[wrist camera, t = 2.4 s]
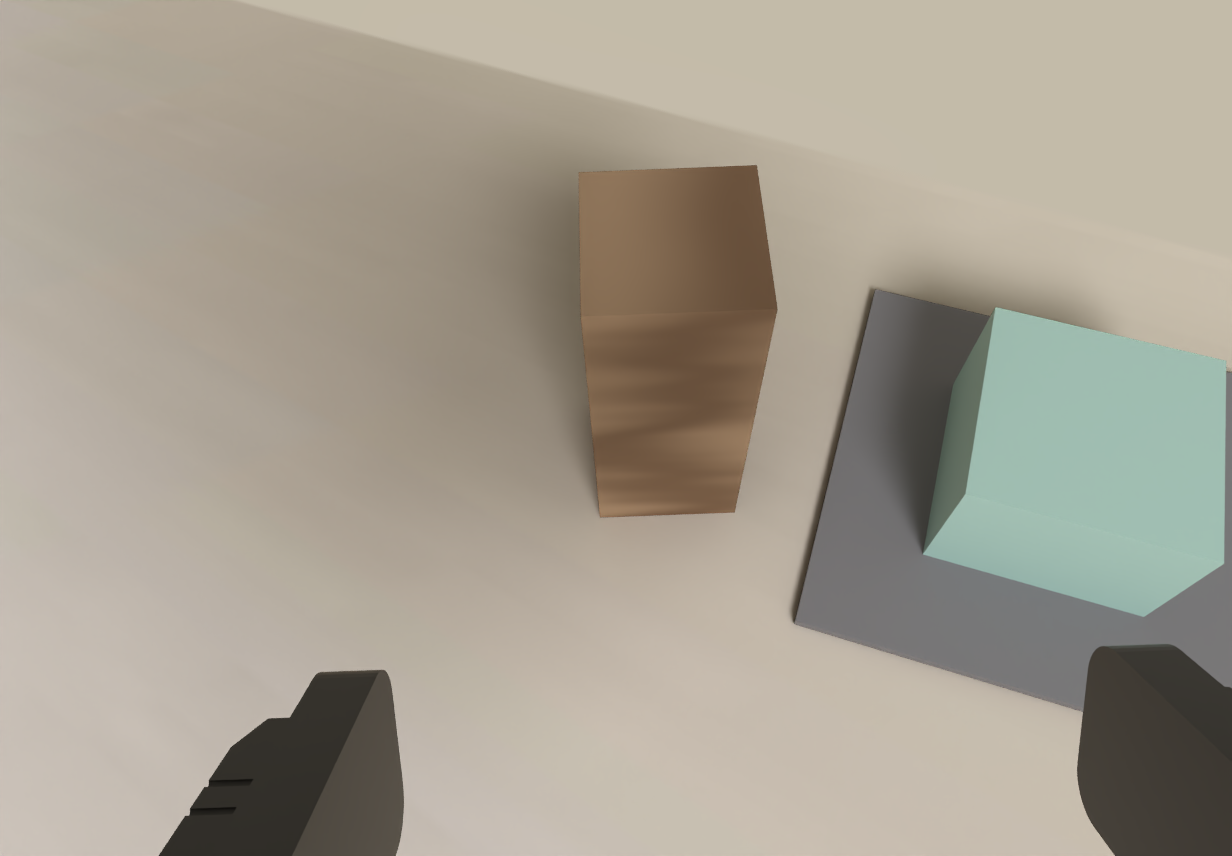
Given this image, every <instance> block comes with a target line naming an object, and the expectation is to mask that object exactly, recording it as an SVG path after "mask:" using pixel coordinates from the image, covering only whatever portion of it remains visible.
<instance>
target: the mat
mask: <svg viewBox="0 0 1232 856" xmlns="http://www.w3.org/2000/svg"><path fill="white" fill-rule="evenodd" d="M989 318H990V316H987V315H983V314H979V313H974V312H970V311H966V310H962V309H957V308H953V307H949V306H945V305H940V304H936V303H932V302H928V301H923V300H919V299H915V298H911V297H906V296H902V295H898V294H894V293H889V292H885V291H881V290H875V292H874V295H873V300H872V304H871V308H870V312H869V316H868V320H867V324H866V329H865V333H864V337H863V341H862V345H861V349H860V353H859V357H858V362H857V366H856V370H855V374H854V378H853V382H852V386H851V391H850V395H849V399H848V403H847V407H846V411H845V415H844V419H843V424H842V428H841V432H840V436H839V440H838V444H837V448H836V453H835V457H834V461H833V465H832V469H831V473H830V477H829V481H828V486H827V490H826V494H825V498H824V502H823V506H822V510H821V515H820V519H819V523H818V527H817V531H816V535H815V539H814V543H813V548H812V552H811V556H810V560H809V564H808V568H807V572H806V577H805V581H804V585H803V589H802V593H801V597H800V601H799V606H798V610H797V614H796V618H795V622H794V624H796V625H799V626H802V627H806V628H809V629H812V630H816V631H819V632H822V633H826V634H829V635H832V636H835V637H839V638H842V639H845V640H849V641H852V642H855V643H858V644H862V645H865V646H868V647H872V648H875V649H878V650H882V651H885V652H888V653H891V654H895V655H898V656H901V657H905V658H908V659H911V660H914V661H918V662H921V663H924V664H928V665H931V666H934V667H938V668H941V669H944V670H947V671H951V672H954V673H957V674H961V675H964V676H967V677H970V678H974V679H977V680H980V681H984V682H987V683H990V684H994V685H997V686H1000V687H1003V688H1007V689H1010V690H1013V691H1017V692H1020V693H1023V694H1026V695H1030V696H1033V697H1036V698H1040V699H1043V700H1046V701H1050V702H1053V703H1056V704H1059V705H1063V706H1066V707H1069V708H1073V709H1076V710H1079V711H1082V712H1083V709H1084V700H1085V691H1086V682H1087V673H1088V666H1089V661H1090V658H1091V656H1092V654H1093V652H1094V651H1095V650H1096V649H1097V648H1098V647H1101V646H1118V645H1146V644H1171V645H1174V646H1176V647H1177V648H1179V649H1180V650H1181V651H1183V652H1184V653H1185V654H1186V655H1187V656H1189V657H1190V658H1191V659H1192V660H1193V661H1194V662H1196V663H1197V664H1198V665H1199V666H1200V667H1202V668H1203V669H1204V670H1205V671H1206V672H1208V673H1209V674H1210V675H1211V676H1212V677H1214V678H1215V679H1216V680H1217V681H1218V682H1219V683H1221V684H1222V685H1223V686H1224V687H1230V688H1232V373H1229V372H1226V430H1225V526H1224V564H1223V565H1221V566H1220V567H1218V568H1217V569H1215V570H1214V571H1212V572H1211V573H1209V574H1208V575H1206V576H1205V577H1203V578H1202V579H1200V580H1199V581H1197V582H1196V583H1194V584H1193V585H1191V586H1190V587H1188V588H1187V589H1185V590H1184V591H1182V592H1181V593H1179V594H1178V595H1176V596H1175V597H1173V598H1172V599H1170V600H1169V601H1167V602H1166V603H1164V604H1163V605H1161V606H1160V607H1158V608H1157V609H1155V610H1154V611H1152V612H1151V613H1149V614H1148V615H1146V616H1145V617H1142V616H1139V615H1135V614H1132V613H1128V612H1125V611H1121V610H1117V609H1114V608H1110V607H1107V606H1103V605H1100V604H1096V603H1093V602H1089V601H1086V600H1082V599H1079V598H1075V597H1072V596H1068V595H1064V594H1061V593H1057V592H1054V591H1050V590H1047V589H1043V588H1040V587H1036V586H1033V585H1029V584H1026V583H1022V582H1019V581H1015V580H1011V579H1008V578H1004V577H1001V576H997V575H994V574H990V573H987V572H983V571H980V570H976V569H973V568H969V567H966V566H962V565H958V564H955V563H951V562H948V561H944V560H941V559H937V558H934V557H930V556H927V555H923V550H924V545H925V539H926V533H927V528H928V522H929V517H930V511H931V505H932V500H933V494H934V489H935V483H936V478H937V472H938V466H939V461H940V455H941V450H942V444H943V439H944V433H945V427H946V422H947V416H948V411H949V405H950V399H951V394H952V388H953V384H954V382H955V380H956V378H957V376H958V375H959V373H960V371H961V369H962V367H963V365H964V364H965V362H966V360H967V358H968V356H969V355H970V353H971V351H972V349H973V347H974V345H975V344H976V342H977V340H978V338H979V336H980V335H981V333H982V331H983V329H984V327H985V325H986V324H987V322H988V320H989Z"/></svg>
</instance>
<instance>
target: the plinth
mask: <svg viewBox="0 0 1232 856" xmlns="http://www.w3.org/2000/svg"><path fill="white" fill-rule="evenodd" d="M1225 430H1226V361H1225V360H1220V359H1216V358H1212V357H1208V356H1203V355H1199V354H1195V353H1190V352H1186V351H1182V350H1178V349H1173V348H1169V347H1165V346H1160V345H1156V344H1152V343H1148V342H1143V341H1139V340H1135V339H1130V338H1126V337H1122V336H1117V335H1113V334H1109V333H1105V332H1100V331H1096V330H1092V329H1087V328H1083V327H1079V326H1075V325H1070V324H1066V323H1062V322H1057V321H1053V320H1049V319H1045V318H1040V317H1036V316H1032V315H1027V314H1023V313H1019V312H1015V311H1010V310H1006V309H1002V308H997V307H995V309H994V311H993V313H992V314H991V316H990V318H989V320H988V322H987V324H986V325H985V327H984V329H983V331H982V333H981V335H980V336H979V338H978V340H977V342H976V344H975V345H974V347H973V349H972V351H971V353H970V355H969V356H968V358H967V360H966V362H965V364H964V365H963V367H962V369H961V371H960V373H959V375H958V376H957V378H956V380H955V382H954V384H953V388H952V394H951V399H950V405H949V411H948V416H947V422H946V427H945V433H944V439H943V444H942V450H941V455H940V461H939V466H938V472H937V478H936V483H935V489H934V494H933V500H932V505H931V511H930V517H929V522H928V528H927V533H926V539H925V545H924V550H923V555H927V556H930V557H934V558H937V559H941V560H944V561H948V562H951V563H955V564H958V565H962V566H966V567H969V568H973V569H976V570H980V571H983V572H987V573H990V574H994V575H997V576H1001V577H1004V578H1008V579H1011V580H1015V581H1019V582H1022V583H1026V584H1029V585H1033V586H1036V587H1040V588H1043V589H1047V590H1050V591H1054V592H1057V593H1061V594H1064V595H1068V596H1072V597H1075V598H1079V599H1082V600H1086V601H1089V602H1093V603H1096V604H1100V605H1103V606H1107V607H1110V608H1114V609H1117V610H1121V611H1125V612H1128V613H1132V614H1135V615H1139V616H1142V617H1145V616H1146V615H1148V614H1149V613H1151V612H1152V611H1154V610H1155V609H1157V608H1158V607H1160V606H1161V605H1163V604H1164V603H1166V602H1167V601H1169V600H1170V599H1172V598H1173V597H1175V596H1176V595H1178V594H1179V593H1181V592H1182V591H1184V590H1185V589H1187V588H1188V587H1190V586H1191V585H1193V584H1194V583H1196V582H1197V581H1199V580H1200V579H1202V578H1203V577H1205V576H1206V575H1208V574H1209V573H1211V572H1212V571H1214V570H1215V569H1217V568H1218V567H1220V566H1221V565H1223V564H1224V526H1225Z"/></svg>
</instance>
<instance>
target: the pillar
mask: <svg viewBox="0 0 1232 856" xmlns="http://www.w3.org/2000/svg"><path fill="white" fill-rule="evenodd" d="M579 235H580V309H581V326H582V336H583V346H584V357H585V367H586V377H587V388H588V398H589V408H590V419H591V429H592V439H593V449H594V460H595V470H596V480H597V491H598V501H599V511H600V517H623V516H649V515H676V514H703V513H729V512H735V508H736V503H737V498H738V493H739V489H740V484H741V479H742V474H743V470H744V465H745V460H746V456H747V451H748V446H749V441H750V437H751V432H752V427H753V422H754V418H755V413H756V408H757V403H758V399H759V394H760V389H761V385H762V380H763V375H764V370H765V366H766V361H767V356H768V351H769V347H770V342H771V337H772V333H773V328H774V323H775V318H776V314H777V302H776V295H775V288H774V281H773V274H772V267H771V261H770V254H769V247H768V240H767V233H766V226H765V219H764V212H763V205H762V198H761V191H760V184H759V177H758V170H757V165H751V166H726V167H701V168H676V169H651V170H626V171H602V172H579Z"/></svg>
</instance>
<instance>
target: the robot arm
mask: <svg viewBox="0 0 1232 856" xmlns="http://www.w3.org/2000/svg"><path fill="white" fill-rule="evenodd" d="M1077 776H1078V785H1079V790H1080V795H1081V799H1082V802H1083V805H1084V808H1085V810H1086V813H1087V815H1088V817H1089V819H1090V821H1091V823H1092V824H1093V826H1094V827H1095V829H1096V830H1097V832H1098V833H1099V834H1100V836H1101V837H1102V838H1103V840H1104V841H1105V843H1106V844H1107V845H1108V847H1109V848H1110V849H1111V851H1112V852H1113V853H1114V855H1115V856H1232V688H1230V687H1224V686H1223V685H1222V684H1221V683H1219V682H1218V681H1217V680H1216V679H1215V678H1214V677H1212V676H1211V675H1210V674H1209V673H1208V672H1206V671H1205V670H1204V669H1203V668H1202V667H1200V666H1199V665H1198V664H1197V663H1196V662H1194V661H1193V660H1192V659H1191V658H1190V657H1189V656H1187V655H1186V654H1185V653H1184V652H1183V651H1181V650H1180V649H1179V648H1177V647H1176V646H1174V645H1171V644H1146V645H1118V646H1101V647H1098V648H1097V649H1096V650H1095V651H1094V652H1093V654H1092V656H1091V658H1090V661H1089V666H1088V673H1087V682H1086V691H1085V700H1084V709H1083V718H1082V727H1081V736H1080V745H1079V754H1078V765H1077ZM403 810H404V793H403V781H402V772H401V764H400V755H399V746H398V738H397V729H396V721H395V712H394V703H393V695H392V687H391V682H390V679H389V676H388V674H387V672H386V671H385V670H366V671H338V672H320V673H318V674H316V675H315V677H314V678H313V680H312V681H311V683H310V685H309V687H308V688H307V690H306V692H305V693H304V695H303V697H302V698H301V700H300V702H299V703H298V705H297V707H296V708H295V710H294V712H293V713H292V715H291V717H290V718H271V719H267V720H266V721H265V722H263V723H262V724H261V725H259V726H258V727H257V728H255V729H254V730H253V731H252V732H250V733H249V734H248V735H246V736H245V737H244V738H242V739H241V740H240V741H239V742H237V743H236V744H235V745H233V746H232V747H231V748H230V750H229V751H228V753H227V754H226V756H225V757H224V759H223V760H222V762H221V763H220V765H219V766H218V768H217V769H216V771H215V772H214V774H213V775H212V777H211V778H210V780H209V786H208V787H204V789H203V790H202V792H201V793H200V795H199V796H198V798H197V799H196V801H195V802H194V804H193V805H192V807H191V808H190V815H189V816H185V817H184V819H183V820H182V822H181V823H180V825H179V826H178V828H177V829H176V831H175V832H174V834H173V835H172V837H171V838H170V840H169V841H168V843H167V844H166V846H165V847H164V849H163V850H162V852H161V853H160V855H159V856H396V853H397V850H398V846H399V842H400V837H401V831H402V823H403Z"/></svg>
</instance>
